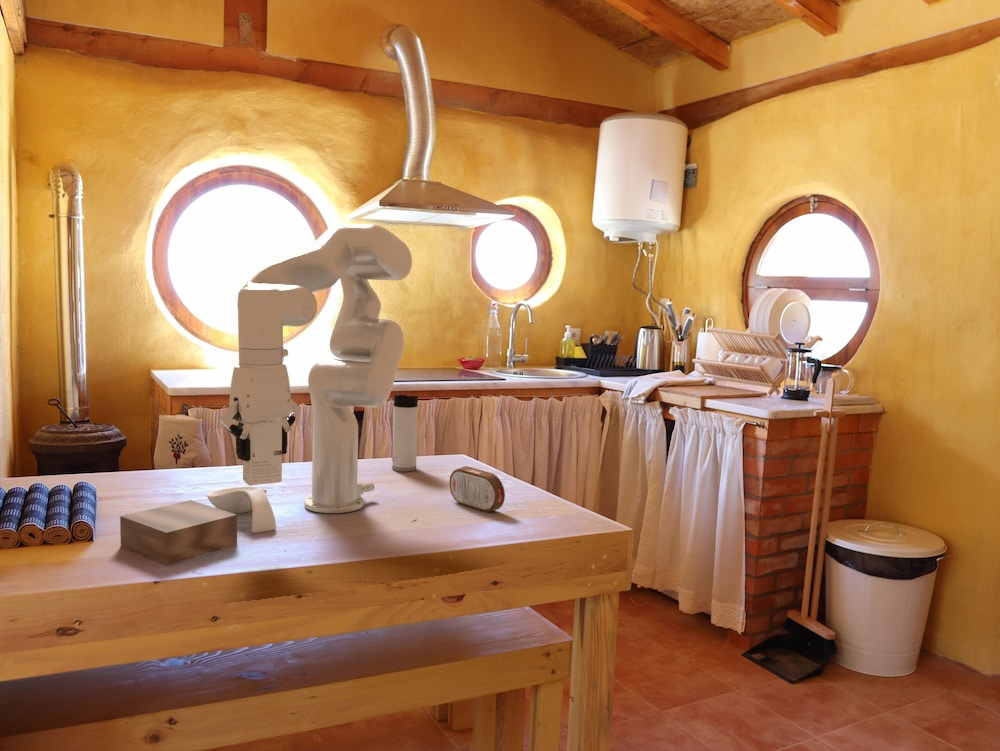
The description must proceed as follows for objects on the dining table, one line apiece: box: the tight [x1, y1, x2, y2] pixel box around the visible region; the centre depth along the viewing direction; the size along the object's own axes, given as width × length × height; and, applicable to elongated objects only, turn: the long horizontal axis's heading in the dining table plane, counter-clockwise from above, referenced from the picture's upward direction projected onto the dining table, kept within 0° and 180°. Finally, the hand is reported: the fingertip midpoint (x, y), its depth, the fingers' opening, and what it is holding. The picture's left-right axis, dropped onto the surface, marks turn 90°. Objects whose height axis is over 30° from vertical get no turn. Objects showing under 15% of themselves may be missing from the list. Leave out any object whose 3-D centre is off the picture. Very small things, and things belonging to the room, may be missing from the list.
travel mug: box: [391, 394, 419, 473], centre depth 205 cm, size 6×7×20 cm
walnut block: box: [119, 499, 238, 566], centre depth 142 cm, size 14×14×6 cm
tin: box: [449, 465, 506, 513], centre depth 174 cm, size 15×3×8 cm, turn 47°
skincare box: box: [242, 416, 283, 487], centre depth 142 cm, size 6×4×12 cm
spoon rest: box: [206, 486, 277, 534], centre depth 162 cm, size 24×12×7 cm, turn 36°
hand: (262, 455), depth 143 cm, fingers closed on skincare box, 6 cm apart
